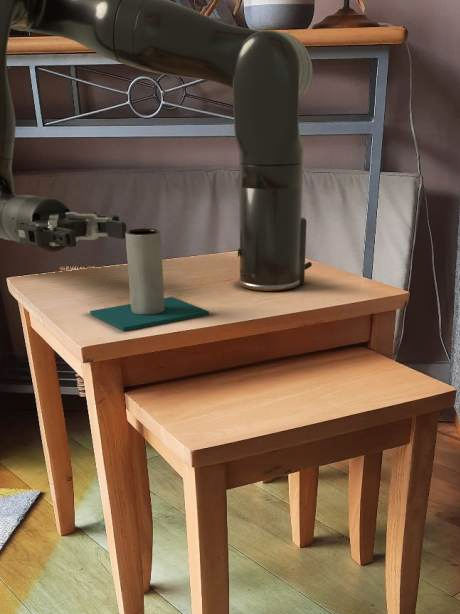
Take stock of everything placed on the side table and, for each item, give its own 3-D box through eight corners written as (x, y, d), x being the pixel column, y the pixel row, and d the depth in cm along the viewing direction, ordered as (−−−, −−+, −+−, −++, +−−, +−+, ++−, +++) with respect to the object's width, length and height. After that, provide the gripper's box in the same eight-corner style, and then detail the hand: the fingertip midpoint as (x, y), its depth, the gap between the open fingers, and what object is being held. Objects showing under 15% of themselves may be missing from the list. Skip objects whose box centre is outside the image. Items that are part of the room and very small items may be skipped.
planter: (144, 305, 104) (139, 227, 99) (171, 309, 102) (167, 229, 97) (124, 312, 101) (118, 232, 96) (151, 316, 99) (146, 235, 94)
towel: (172, 300, 108) (171, 296, 108) (209, 314, 101) (209, 311, 101) (90, 314, 102) (89, 310, 102) (123, 331, 95) (123, 327, 95)
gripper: (-10, 201, 107) (52, 211, 97) (73, 191, 116) (138, 200, 106) (-1, 255, 111) (59, 270, 101) (79, 242, 120) (142, 255, 109)
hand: (99, 234), depth 103 cm, fingers open, 8 cm apart
